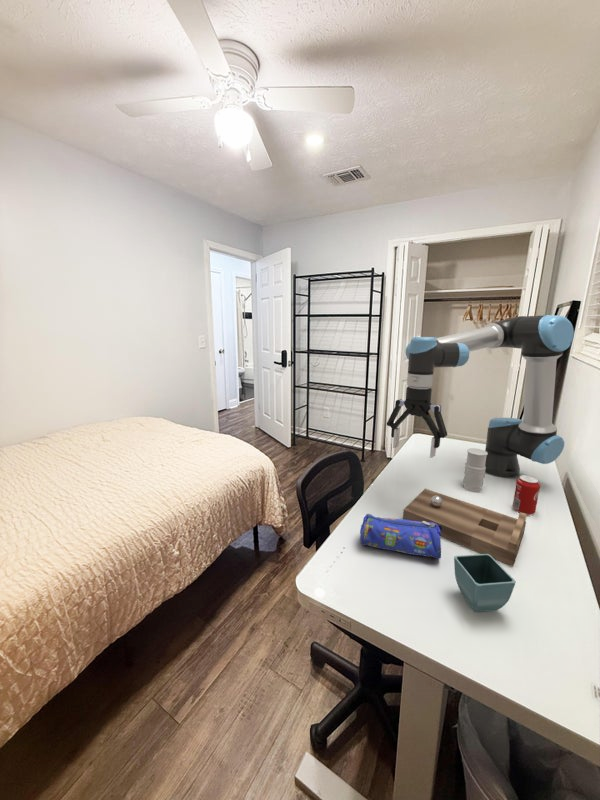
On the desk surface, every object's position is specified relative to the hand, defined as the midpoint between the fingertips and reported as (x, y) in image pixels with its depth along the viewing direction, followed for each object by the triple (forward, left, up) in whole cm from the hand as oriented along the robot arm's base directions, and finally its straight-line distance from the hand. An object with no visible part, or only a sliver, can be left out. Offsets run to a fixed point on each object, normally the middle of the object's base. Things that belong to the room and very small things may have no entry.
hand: (413, 451), depth 105 cm
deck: (0, +17, -20) cm, 26 cm away
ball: (0, +9, -15) cm, 17 cm away
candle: (-29, +13, -21) cm, 38 cm away
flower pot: (+27, +28, -21) cm, 44 cm away
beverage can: (-23, +30, -21) cm, 43 cm away
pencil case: (+22, +7, -21) cm, 31 cm away
